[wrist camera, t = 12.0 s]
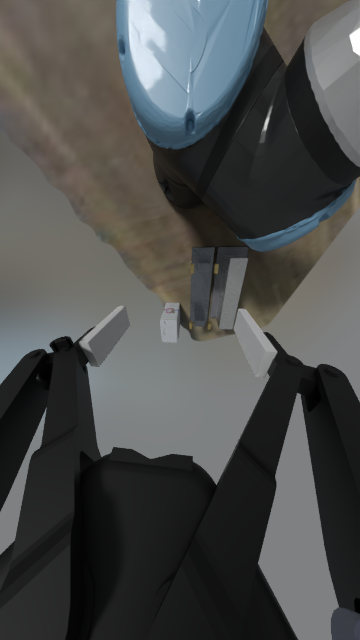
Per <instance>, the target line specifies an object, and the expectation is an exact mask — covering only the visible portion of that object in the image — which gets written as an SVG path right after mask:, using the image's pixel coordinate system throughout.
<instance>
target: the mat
mask: <svg viewBox="0 0 360 640" xmlns="http://www.w3.org/2000/svg"><path fill="white" fill-rule="evenodd" d="M248 248H249V247H218V251H217V259H216V263H218V264H219V267H218V274H215V277H214V285H213V294H212V303H211V311H210V318H216V313H217V305H218V298H219V291H220V284H221V277H222V270H223V263H224V256H225V255H240V256H243V257H247V253H248Z"/></svg>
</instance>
